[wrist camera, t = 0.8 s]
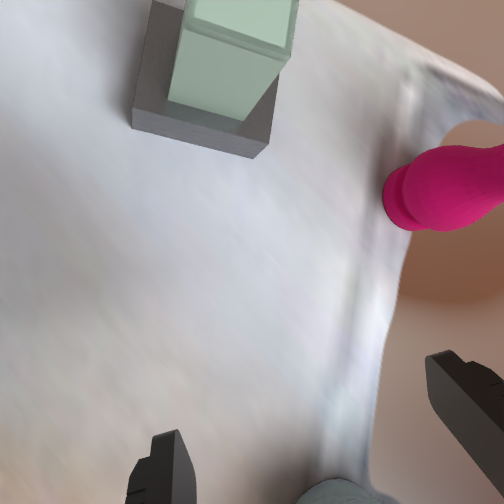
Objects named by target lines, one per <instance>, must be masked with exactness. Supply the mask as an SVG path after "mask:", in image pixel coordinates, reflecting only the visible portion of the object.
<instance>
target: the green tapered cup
mask: <svg viewBox="0 0 504 504" xmlns="http://www.w3.org/2000/svg"><path fill="white" fill-rule="evenodd" d="M295 504H382V503H380V502H379V501H378V500H376V499H375V498H373V497H372V496H371V495H370V494H368V493H367V492H366V491H365V490H364V489H362V488H361V487H360V486H358V485H357V484H355V483H353V482H350V481H348V480H343V479H341V478H337V479H335V480H334V479H330V480H325V481H323V482H321V483H319V484H316V485H315V486H313V487H312V488H311V489H309V490H307V492H306V493H304V494H303V495H302V496H301V497H300V498H299V499H298V501H297V502H296V503H295Z"/></svg>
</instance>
